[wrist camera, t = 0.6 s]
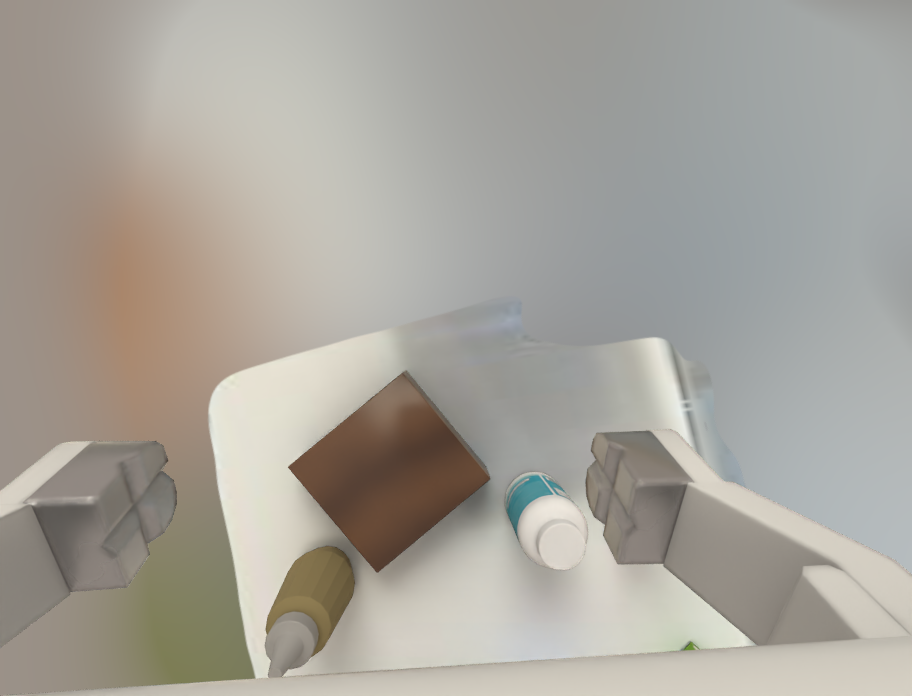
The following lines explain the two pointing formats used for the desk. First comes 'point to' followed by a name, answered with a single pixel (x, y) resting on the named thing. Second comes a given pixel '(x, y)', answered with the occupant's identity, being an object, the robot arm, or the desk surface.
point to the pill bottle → (546, 521)
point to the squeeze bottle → (307, 608)
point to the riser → (390, 471)
